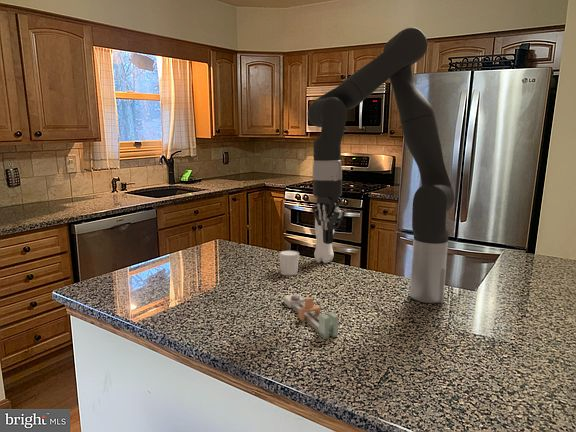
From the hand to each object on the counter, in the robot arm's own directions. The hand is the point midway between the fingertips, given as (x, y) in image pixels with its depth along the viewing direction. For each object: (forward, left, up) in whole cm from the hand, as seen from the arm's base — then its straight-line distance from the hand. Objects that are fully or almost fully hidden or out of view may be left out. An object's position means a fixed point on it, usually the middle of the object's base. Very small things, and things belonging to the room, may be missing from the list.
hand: (328, 243), depth 113 cm
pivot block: (+8, +2, -18) cm, 20 cm away
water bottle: (+13, -40, -18) cm, 46 cm away
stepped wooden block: (+2, +9, -18) cm, 20 cm away
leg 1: (+1, +11, -18) cm, 21 cm away
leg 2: (0, +9, -18) cm, 20 cm away
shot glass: (+20, -23, -18) cm, 35 cm away
